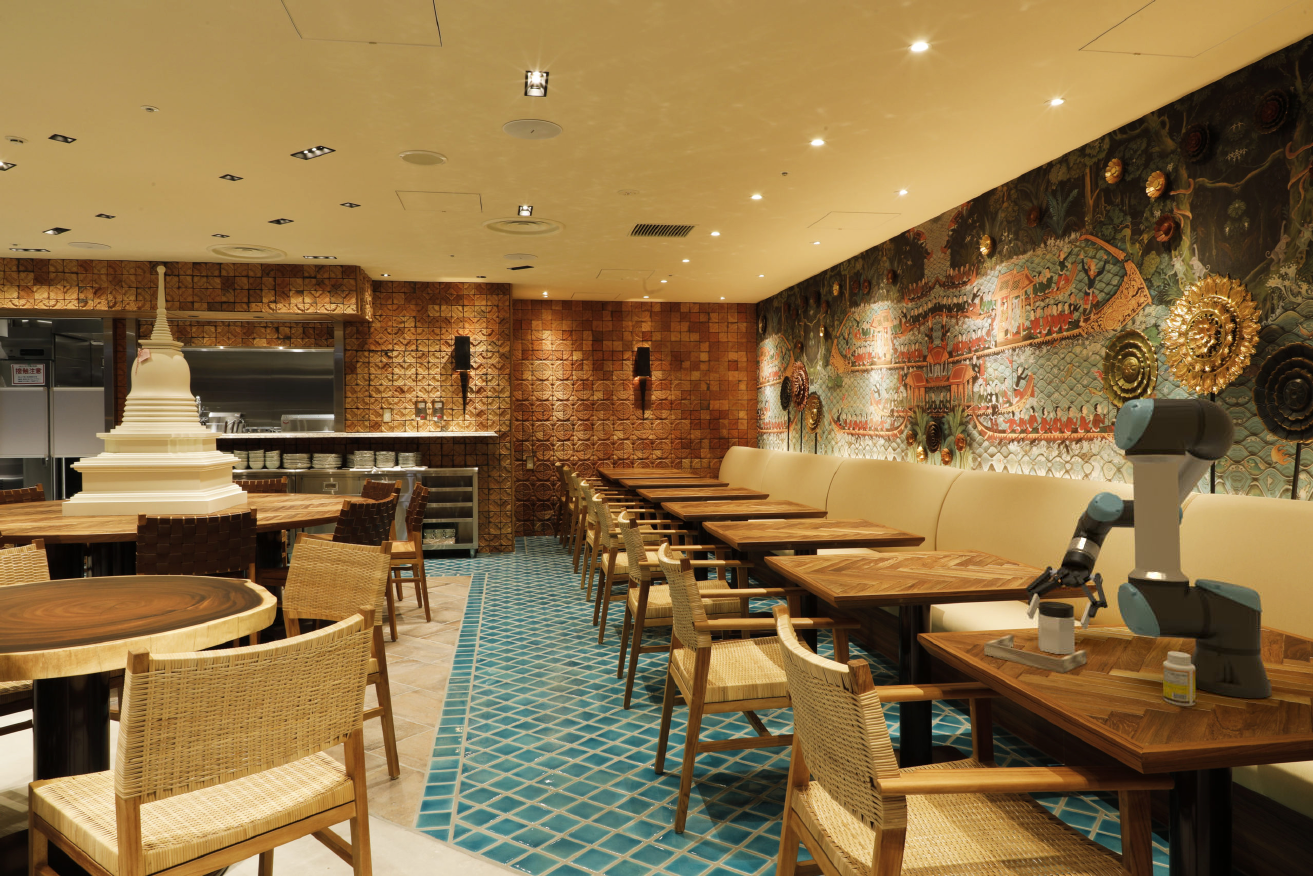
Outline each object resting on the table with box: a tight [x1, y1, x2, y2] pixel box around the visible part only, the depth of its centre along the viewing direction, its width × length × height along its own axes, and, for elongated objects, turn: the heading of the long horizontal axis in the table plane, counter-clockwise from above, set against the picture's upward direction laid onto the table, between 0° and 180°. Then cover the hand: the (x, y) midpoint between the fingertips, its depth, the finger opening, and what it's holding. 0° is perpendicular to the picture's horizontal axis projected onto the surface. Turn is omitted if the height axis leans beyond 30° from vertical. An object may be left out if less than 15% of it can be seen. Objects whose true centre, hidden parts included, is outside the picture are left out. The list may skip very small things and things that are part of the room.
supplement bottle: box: [1162, 650, 1197, 707], centre depth 156 cm, size 6×6×10 cm
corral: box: [983, 634, 1087, 674], centre depth 187 cm, size 14×19×3 cm
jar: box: [1037, 600, 1076, 655], centre depth 194 cm, size 9×8×12 cm
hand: (1055, 621), depth 196 cm, fingers open, 13 cm apart
